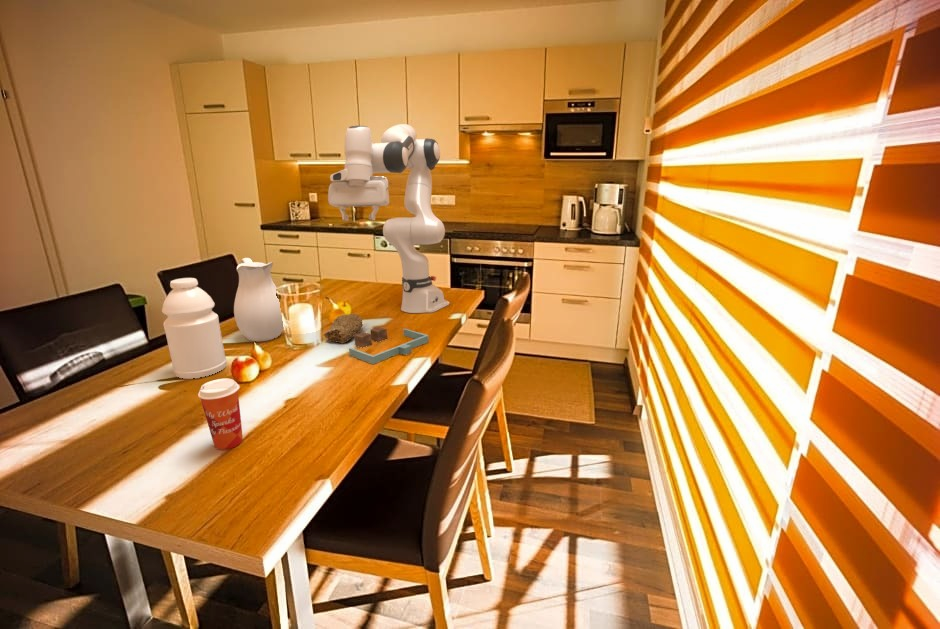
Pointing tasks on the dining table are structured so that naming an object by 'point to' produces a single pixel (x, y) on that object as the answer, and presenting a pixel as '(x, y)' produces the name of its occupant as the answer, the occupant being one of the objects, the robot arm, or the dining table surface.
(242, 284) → the pitcher
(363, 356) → the grey piece
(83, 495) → the dining table surface
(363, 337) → the chip
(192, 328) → the bottle
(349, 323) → the rough brown rock
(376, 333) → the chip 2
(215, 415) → the paper cup
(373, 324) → the dining table surface
